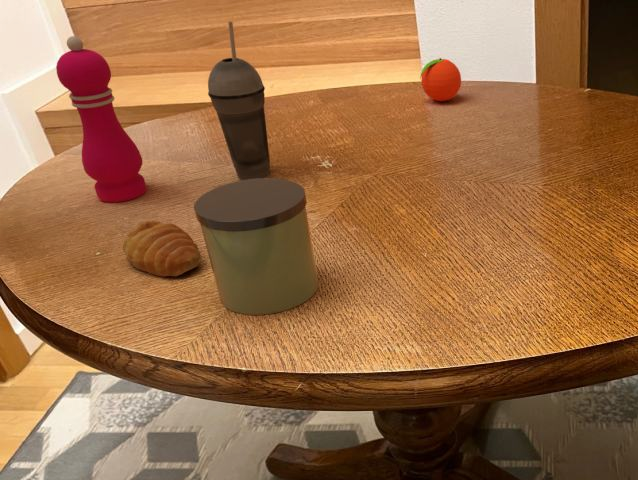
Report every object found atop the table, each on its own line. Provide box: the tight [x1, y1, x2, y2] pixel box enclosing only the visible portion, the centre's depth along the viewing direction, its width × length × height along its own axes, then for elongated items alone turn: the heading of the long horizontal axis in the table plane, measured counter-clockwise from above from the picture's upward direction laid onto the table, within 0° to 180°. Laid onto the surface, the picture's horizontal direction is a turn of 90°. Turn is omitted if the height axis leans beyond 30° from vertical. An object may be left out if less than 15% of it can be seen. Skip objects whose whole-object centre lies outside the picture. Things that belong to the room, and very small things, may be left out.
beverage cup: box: [207, 21, 271, 181], centre depth 97 cm, size 7×7×20 cm
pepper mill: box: [55, 35, 148, 203], centre depth 93 cm, size 7×7×20 cm
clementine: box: [419, 57, 462, 102], centre depth 126 cm, size 8×7×7 cm
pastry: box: [122, 220, 202, 277], centre depth 80 cm, size 9×7×4 cm
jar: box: [193, 177, 319, 316], centre depth 72 cm, size 10×10×10 cm
